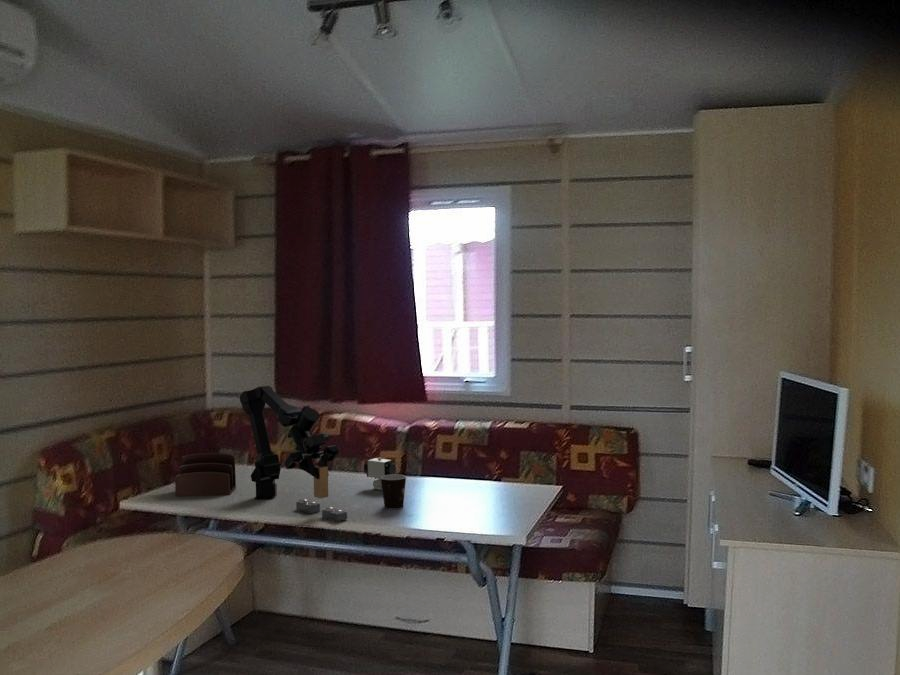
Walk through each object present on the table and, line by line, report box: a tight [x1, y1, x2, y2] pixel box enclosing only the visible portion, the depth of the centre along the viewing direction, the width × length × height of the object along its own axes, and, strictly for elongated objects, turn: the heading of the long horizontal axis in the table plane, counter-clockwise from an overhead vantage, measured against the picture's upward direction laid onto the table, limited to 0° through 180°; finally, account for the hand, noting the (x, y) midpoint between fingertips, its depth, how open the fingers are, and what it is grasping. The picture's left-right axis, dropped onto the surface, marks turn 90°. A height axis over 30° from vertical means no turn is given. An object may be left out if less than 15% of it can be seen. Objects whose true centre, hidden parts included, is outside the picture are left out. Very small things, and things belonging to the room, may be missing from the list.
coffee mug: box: [381, 473, 407, 509], centre depth 266 cm, size 12×9×10 cm
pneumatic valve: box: [363, 456, 397, 491], centre depth 293 cm, size 6×12×12 cm, turn 59°
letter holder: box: [174, 452, 237, 497], centre depth 292 cm, size 10×20×14 cm, turn 93°
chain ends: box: [295, 498, 348, 523], centre depth 259 cm, size 23×4×3 cm, turn 44°
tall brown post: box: [313, 465, 329, 499], centre depth 258 cm, size 4×3×10 cm
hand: (323, 477), depth 257 cm, fingers closed on tall brown post, 3 cm apart
